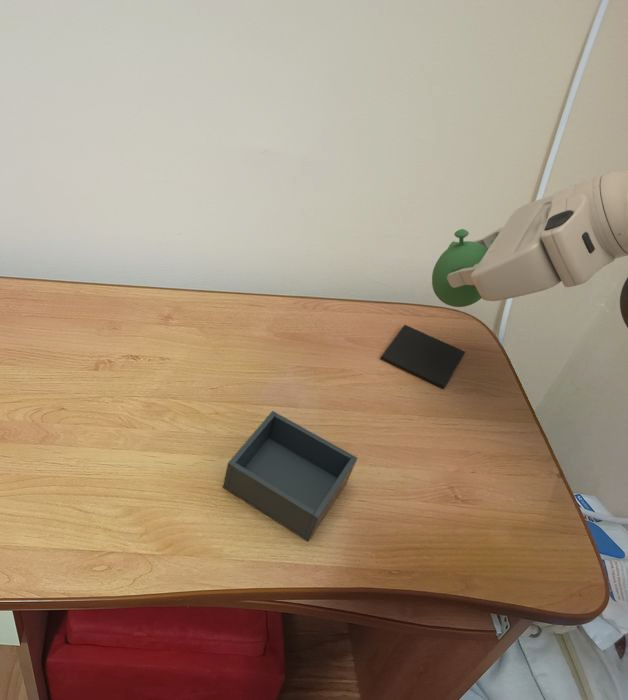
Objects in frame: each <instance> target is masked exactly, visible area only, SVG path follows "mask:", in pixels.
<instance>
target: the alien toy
mask: <svg viewBox="0 0 628 700" xmlns="http://www.w3.org/2000/svg"><path fill="white" fill-rule="evenodd" d="M453 235H454V237H456V238H457V239H458V241H452V242H450V244H449V245H448V246H447V249H446V250H444V251H443V252H442V254H440V255H439V258H438V259H437V261H436V262H435V264H434V267H433V269H432V273H431V287H432V290H433V292H434V294H435V296H436V297H437V299H438V300H439V301H440V302H442V304H443V303H444V304H445V305H447V306H450V307H454V308H465V307H469V306H472V305H474V304H477V302H478V301H480V300H481V299H482V298H481V296H480V294H479V292H478V291H477V289H476V287H475V285H463V286H459V287H456V288H453V287H451V286H450V284H449V282H448V280H447V276H448V275H449V273H450V272H451V271H452V270H454V269H457V268H460V267H463V266H464V268H470V267H473V266H474V265H475V264H478V263H479V262H480V261H481V259H482V258H483V256H484V255H485V253H486V252H487V250H488V248H487V247H486V246H484V245H482V244H480V243H477V242H473V241H472V240H471V241H470V240H464V239H465V238H466V237H468V236H469V231H468V230H466V229H464V228H460V229H458V230H456V231H455V232H454V233H453ZM494 240H495V239H493V240H492V241H491V245H492V243H493V242H494Z"/></svg>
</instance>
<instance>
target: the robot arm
mask: <svg viewBox="0 0 628 700" xmlns="http://www.w3.org/2000/svg"><path fill="white" fill-rule="evenodd" d="M493 239H495V240H494V242H493V243H492V245H491V241H492V240H493ZM472 242H477V243H480V244H482V245H484V246H486V247H487V248H488V250H487V252H486V253H485V255H484V256H483V258H482V259H481V261H480V262H479V263H478V264H475V265H474V266H473V267H470V268H464V266H463V267H460V268H457V269H454V270H452V271H451V272H450V273H449V275H448V276H447V280H448V282H449V284H450V286H451V287H453V288H456V287H459V286H463V285H475V287H476V289H477V291H478V292H479V294H480V296H481V299H482V300H484V301H487V302H499V301H504V300H509V299H514V298H519V297H523V296H527V295H530V294H535V293H539V292H543V291H545V290H549V289H552V288H554V287H555V286H557V285H559V284H560V283H562V284H563V286H564V287H565V288H572V287H576V286H580V285H582V284H585V283H587V282H588V281H589V280H590V279H591V278H592V277H593V276H594V275H596V273H598V272H599V271H600V270H601V269H603V268H604V267H606V266H607V265H609V264H612V263H613V262H614V261H616V259H621V258H623V257H627V256H628V168H627V169H622V170H615V171H614V170H613V171H609V172H605V173H603V174H600V175H597V176H594V177H592V178H589V179H587V180H584V181H581V182H579V183H576V184H574V185H570V186H568V187H565V188H562V189H560V190H557V191H555V192H554V193H553V194H552V195H550V196H547V197H543V198H540V199H537V200H534V201H531V202H528V203H526V204H523V205H521V206H520V207H518V208H516V209H515V210H514V211H512V213H511V215H510V216H509V217H508V220H507V221H506V222H505V224H504V225H503V226H502V227H499V228H497V229H496V230H494V231H492V232H490V233H488V234H487V235H485V236H484V237H482V238H478V239H475V240H473V241H472ZM619 310H620V313H621V318H622V320H623V323H624V324H625V326H626V328H627V329H628V277H627V278H626V279H625V280H624V283H623V285H622V287H621V291H620V294H619Z"/></svg>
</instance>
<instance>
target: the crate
mask: <svg viewBox="0 0 628 700" xmlns="http://www.w3.org/2000/svg"><path fill="white" fill-rule="evenodd" d="M357 460H358V457H357V456H355V455H353V454H352V453H350V452H348V451H346V450H344V449H342V448H341V447H339V446H337V445H335V444H334V443H332V442H330V441H328V440H326V439H325V438H323V437H321V436H319V435H317V434H316V433H314V432H312V431H310V430H309V429H306V428H304V427H303V426H302V425H299V424H298V423H295V422H294V421H292V420H290V419H288V418H287V417H284V416H283V415H281V414H279V413H277V412H276V411H274V410H272V411H271V412H270V413H269V414H268V415H267V416H266V418H265V419H264V420H263V421H262V422H261V423H260V425H259V426H258V427H257V428H256V429H255V431H254V432H253V433H251V435H250V436H249V438H248V439H247V440H246V441H245V443H244V444H242V446H240V448H239V449H238V451H236V453H235V454H234V455H233V456H232V458H231V459H230V460H229V461H228V462H227V466H226V471H225V475H224V479H223V484H222V485H223V486H222V488H223V489H225V490H226V491H228V492H229V493H231V494H232V495H233V496H235V497H237V498H239V499H240V500H242V501H243V502H245V503H247V504H248V505H249V506H251V507H253V508H255V509H256V510H258V511H259V512H261V513H262V514H263V515H266V516H267V517H268V518H270V519H272V520H273V521H274V522H277V523H278V524H280V525H281V526H283V527H284V528H286V529H288V530H289V531H291V532H292V533H294V534H295V535H297V536H299V538H302V539H303V540H305V541H307V542H310V540H311V539H312V537H313V536H314V534H315V533H316V531H317V530H318V528H319V526H320V525H321V523H323V520H324V519H325V518H326V515H327V514H328V512H329V511H330V510H331V508H332V507H333V505H334V503H335V502H336V500H337V499H338V497H339V495H340V494H341V492H342V491H343V490H344V487H345V486H346V484H347V483H348V481H349V479H350V476H351V475H352V472H353V469H354V468H355V465H356V463H357Z"/></svg>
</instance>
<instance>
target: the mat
mask: <svg viewBox="0 0 628 700" xmlns="http://www.w3.org/2000/svg"><path fill="white" fill-rule="evenodd" d="M465 354H466V351H464V350H462V349H461V348H458V347H456V346H453V345H452V344H449V343H447V342H445V341H443V340H440V339H438V338H435V337H433V336H432V335H428V334H427V333H425V332H422V331H420V330H418V329H417V328H413V327H411V326H409V325H407V324H404V325H403V326H402V327H401V329H400V331H398V333H397V334H396V336H395V337H394V338H393V340H392V341H391V342H390V343H389V345H388V346H387V348H386V349H385V351H384V352H383V353H382V355H381V356H380V358H379V359H380V360H381V361H384V362H386V363H388V364H389V365H392V366H394V367H396V368H397V369H400V370H403V371H405V372H407V373H409V374H411V375H412V376H415V377H417V378H419V379H422V380H423V381H425V382H428V383H430V384H432V385H435V386H436V387H439V388H440V389H442V390H444V389H445V388H446V387H447V384H448V383H449V381H450V380H451V377H452V376H453V374H454V373H455V371H456V369H457V367H458V366H459V364H460V363H461V361H462V359H463V357H464V355H465Z"/></svg>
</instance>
